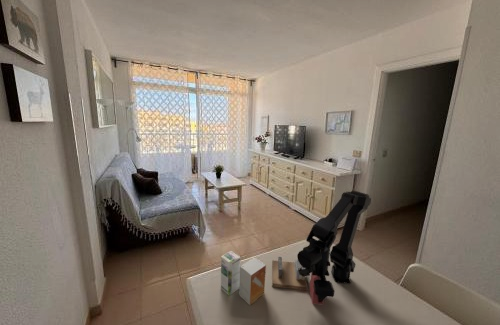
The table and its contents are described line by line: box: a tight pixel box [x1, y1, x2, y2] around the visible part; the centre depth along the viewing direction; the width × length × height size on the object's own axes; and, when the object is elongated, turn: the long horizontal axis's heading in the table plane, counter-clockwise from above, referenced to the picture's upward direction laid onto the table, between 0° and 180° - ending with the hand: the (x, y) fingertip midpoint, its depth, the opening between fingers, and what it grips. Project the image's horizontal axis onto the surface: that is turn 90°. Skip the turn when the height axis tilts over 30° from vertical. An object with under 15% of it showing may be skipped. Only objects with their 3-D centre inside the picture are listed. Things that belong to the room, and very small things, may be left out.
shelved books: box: [294, 258, 306, 280], centre depth 88 cm, size 3×7×4 cm, turn 174°
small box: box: [238, 257, 267, 306], centre depth 78 cm, size 8×6×13 cm
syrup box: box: [220, 250, 241, 297], centre depth 81 cm, size 6×6×14 cm
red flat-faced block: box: [308, 272, 325, 306], centre depth 78 cm, size 4×6×9 cm, turn 174°
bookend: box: [277, 256, 283, 279], centre depth 89 cm, size 2×8×4 cm, turn 174°
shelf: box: [271, 259, 308, 291], centre depth 89 cm, size 14×14×2 cm
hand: (316, 291), depth 78 cm, fingers open, 9 cm apart
